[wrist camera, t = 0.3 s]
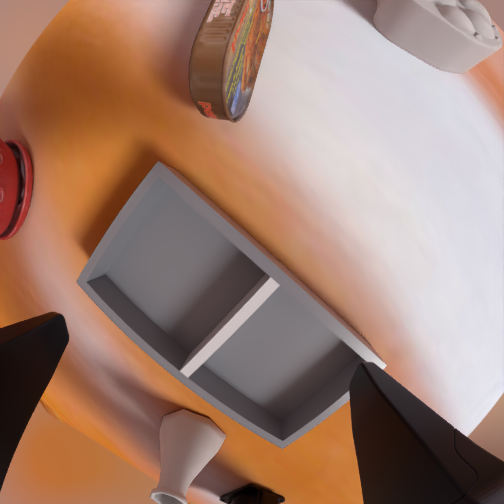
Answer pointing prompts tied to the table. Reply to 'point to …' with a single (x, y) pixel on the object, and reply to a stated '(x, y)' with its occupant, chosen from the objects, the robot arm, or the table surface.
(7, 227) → the plant pot
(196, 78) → the tin
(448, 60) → the lumpy-topped squat cylinder
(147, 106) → the table surface
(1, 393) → the robot arm
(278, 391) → the caddy
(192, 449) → the flask
